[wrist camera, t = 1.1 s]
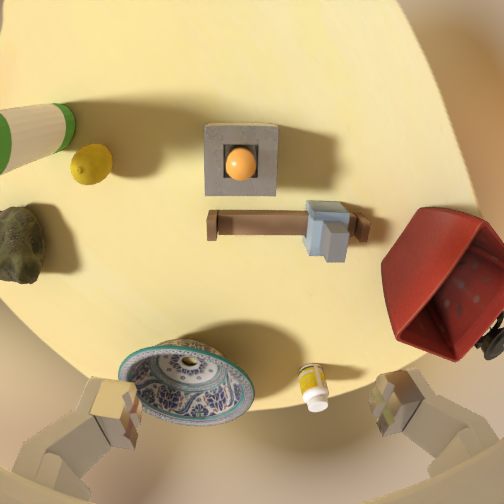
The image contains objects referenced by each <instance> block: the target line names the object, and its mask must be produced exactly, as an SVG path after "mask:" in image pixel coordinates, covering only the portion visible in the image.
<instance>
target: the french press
mask: <svg viewBox="0 0 504 504" xmlns="http://www.w3.org/2000/svg"><path fill="white" fill-rule="evenodd" d="M503 318H504V311H502V312H501V313H500V315H499V316H498V317H497V323H496V324H495V325H494V327H493V328H492V329H491V327H489V329H490V331H489V332H488V333H487V334H486V335H485V336H482V337H481V338H480V339H479V340H478V341H477V342H476V343H475V345H474V346H475V347H476V348H477V349H478V348H480V347H481V349H482V351H483V352H484V358H485V359H486V360H491V359H494V358H495V357H497V356H498V355H500V354H501V353H502V352H503V351H504V328H499V327H500V325H501V323H502V321H503ZM498 328H499V329H498Z"/></svg>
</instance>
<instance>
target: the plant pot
mask: <svg viewBox="0 0 504 504" xmlns="http://www.w3.org/2000/svg"><path fill="white" fill-rule="evenodd" d="M381 275H382V285H383V292H384V298H385V303H386V307H387V311H388V315H389V319H390V322H391V326H392V329H393V332H394V335H395V338H396V340H397V341H399V342H402V343H405V344H408V345H410V346H413V347H415V348H418V349H421V350H423V351H426V352H429V353H431V354H434V355H437V356H439V357H442V358H444V359H447V360H450V361H452V362H457V361H459V360H460V359H462V358H463V356H464V355H465V354H466V353H467V352H468V351H469V350H470V349H471V348H472V347H473V346H474V345H475V343H476V342H477V341H478V340H479V339H480V338H481V337H482V335H483V334H484V333H485V332H486V331H487V330H488V328H489V327H490V326H491V325H492V323H493V322H494V321H495V320H496V318H497V317H498V316H499V315H500V313H501V312H502V311H503V309H504V243H503V242H502V240H501V239H500V237H499V236H498V235H497V233H496V232H495V231H494V229H493V228H492V227H491V226H490V224H489V223H488V222H487V221H485V220H483V219H481V218H478V217H476V216H473V215H470V214H467V213H464V212H460V211H456V210H451V209H446V208H437V207H423V208H420V209H418V210H417V212H416V213H415V215H414V216H413V218H412V219H411V221H410V222H409V224H408V225H407V227H406V228H405V230H404V231H403V233H402V234H401V235H400V237H399V238H398V240H397V241H396V243H395V244H394V245H393V247H392V248H391V250H390V251H389V252H388V254H387V255H386V257H385V258H384V259H383V261H382V263H381Z"/></svg>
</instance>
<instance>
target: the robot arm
mask: <svg viewBox="0 0 504 504" xmlns="http://www.w3.org/2000/svg"><path fill="white" fill-rule="evenodd" d="M375 383H376V384H377V386H376V387H375V388H374V389H373V390H372V391H371V393H370V396H369V407H370V410H371V413H372V414H373V415H374V416H376V417H377V418H378V420H377V423H376V424H377V426H378V428H379V430H380V432H381V434H382V437H383V436H388V435H392V434H396V433H399V432H402V433H403V434H404V435H405V436H407V437H408V438H409V439H411V440H412V441H413V442H415V443H416V444H417V445H419V446H420V447H421V448H423V449H424V450H425V451H426V452H428V453H429V454H430V455H432V456H433V457H435V458H436V459H435V460H434V461H433V462H432V463H431V464H430V465H429V466H428V468H427V470H428V473H429V475H430V477H431V478H429V479H427V480H425V481H422V482H420V483H418V484H415V485H413V486H410V487H407V488H405V489H402V490H400V491H397V492H394V493H391V494H388V495H385V496H382V497H379V498H376V499H372V500H369V501H365V502H362V503H358V504H504V438H502V439H501V440H499V438H498V437H497V435H496V434H495V432H494V431H493V429H492V428H491V427H490V425H489V424H488V422H487V421H486V419H485V418H484V417H482V416H480V415H478V414H476V413H474V412H472V411H470V410H468V409H466V408H464V407H462V406H460V405H458V404H456V403H454V402H452V401H450V400H448V399H446V398H444V397H443V396H440V395H438V396H436V394H435V393H434V391H433V390H432V388H431V387H430V386H429V384H428V382H427V381H426V380H425V378H424V377H423V375H422V374H421V372H420V371H419V370H418V369H417V368H415V367H413V368H409V369H404V370H399V371H394V372H389V373H384V374H380V375H379V376H378V377H377V379H376V381H375ZM136 392H137V389H136V386H135V383H132V382H125V381H118V380H112V379H106V378H99V377H93V376H92V377H91V378H90V379H89V380H88V382H87V384H86V387H85V389H84V391H83V393H82V395H81V398H80V400H79V402H78V405H77V407H76V410H75V411H70V412H68V413H67V414H65V415H64V416H62V417H61V418H59V419H58V420H56V421H55V422H53V423H52V424H50V425H49V426H47V427H46V428H44V429H43V430H41V431H40V432H38V433H37V434H35V435H34V436H32V437H31V438H29V439H27V440H26V441H24V443H23V445H22V447H21V449H20V452H19V454H18V456H17V459H16V461H15V464H14V466H13V468H12V471H9V470H8V469H5V468H4V467H2V466H0V504H96V503H92V502H90V497H91V490H90V488H89V487H87V485H86V484H85V483H84V482H83V481H82V480H81V479H80V478H81V477H82V476H84V475H85V474H86V472H87V471H89V470H90V469H91V468H92V467H93V466H94V465H95V464H96V463H97V462H98V461H99V460H100V459H101V458H102V457H103V456H104V455H105V454H106V453H107V452H108V451H109V450H110V449H111V447H117V448H124V449H132V450H135V447H136V442H137V438H138V433H137V431H136V427H138V426H139V425H140V423H141V419H142V405H141V401H140V399H139V398H138V397H137V396H136Z"/></svg>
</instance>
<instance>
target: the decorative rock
mask: <svg viewBox="0 0 504 504" xmlns="http://www.w3.org/2000/svg"><path fill="white" fill-rule="evenodd" d="M44 257H45V241H44V237H43V233H42V229H41V226H40V224H39V222H38V220H37V219H36V217H35V216H34V215H33V213H32V212H31V211H30V210H28V209H26V208H22V207H10V208H8V209H6V210H4V211H0V280H4V281H14V282H18V283H19V284H27V283H29V284H33V283H34V282H35V281H37V278H38V276H39V273H40V269H41V266H42V264H43V261H44Z"/></svg>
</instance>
